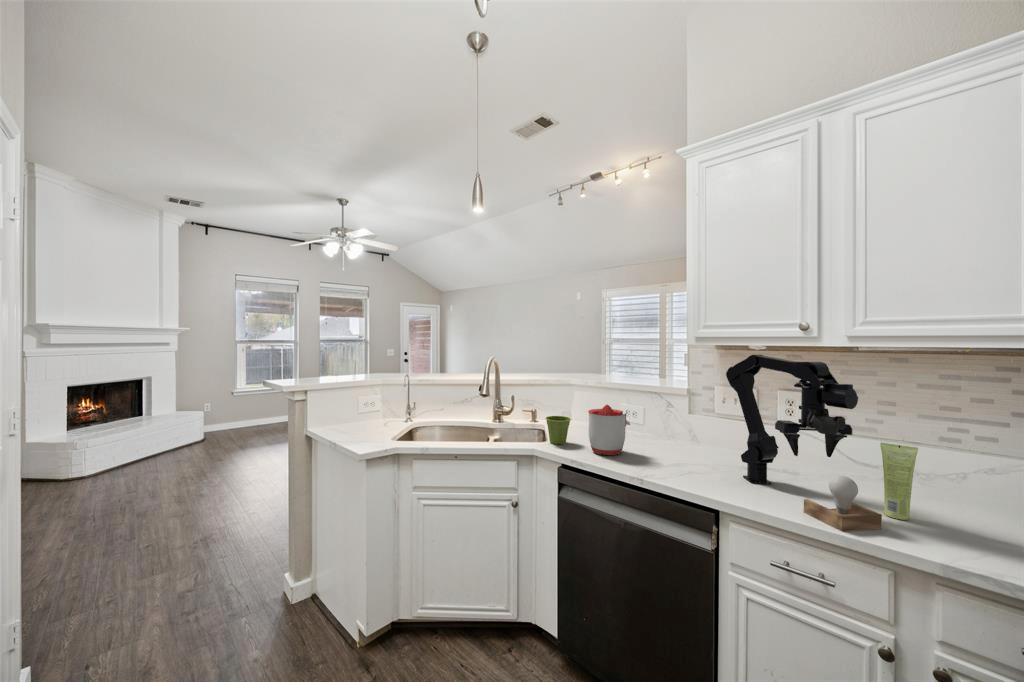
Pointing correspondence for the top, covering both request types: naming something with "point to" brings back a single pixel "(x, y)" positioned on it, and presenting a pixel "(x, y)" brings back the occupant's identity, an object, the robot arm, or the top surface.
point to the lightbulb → (843, 493)
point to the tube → (898, 478)
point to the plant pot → (558, 428)
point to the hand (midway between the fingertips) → (812, 456)
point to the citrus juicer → (607, 430)
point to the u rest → (845, 517)
